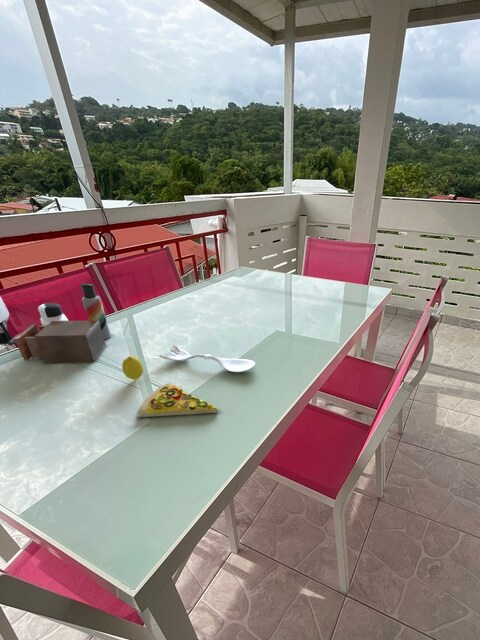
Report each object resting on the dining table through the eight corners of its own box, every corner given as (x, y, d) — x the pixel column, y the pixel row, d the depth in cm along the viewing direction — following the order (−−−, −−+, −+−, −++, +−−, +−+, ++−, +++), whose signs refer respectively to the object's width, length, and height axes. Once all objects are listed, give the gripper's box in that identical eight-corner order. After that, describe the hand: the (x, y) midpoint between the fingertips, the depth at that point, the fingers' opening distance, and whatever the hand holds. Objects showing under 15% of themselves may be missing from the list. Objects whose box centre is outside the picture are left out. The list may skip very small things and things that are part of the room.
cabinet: (45, 363, 107) (34, 336, 102) (62, 346, 117) (52, 321, 112) (94, 362, 110) (85, 335, 104) (106, 345, 120) (98, 320, 114)
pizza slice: (164, 386, 100) (162, 378, 98) (229, 397, 97) (228, 389, 95) (132, 416, 87) (130, 407, 85) (205, 430, 84) (204, 421, 82)
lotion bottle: (91, 338, 124) (73, 284, 113) (103, 333, 129) (86, 280, 117) (103, 341, 123) (86, 286, 111) (114, 335, 127) (99, 282, 116)
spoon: (174, 352, 118) (172, 343, 116) (259, 365, 113) (258, 356, 111) (160, 363, 111) (158, 354, 109) (250, 378, 106) (249, 369, 104)
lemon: (149, 378, 103) (143, 355, 98) (133, 386, 99) (127, 362, 94) (137, 373, 105) (131, 350, 101) (122, 380, 101) (115, 357, 97)
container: (71, 333, 127) (59, 299, 120) (75, 340, 122) (63, 305, 115) (47, 337, 123) (33, 303, 115) (51, 345, 118) (36, 309, 111)
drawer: (9, 361, 106) (-3, 338, 101) (27, 345, 115) (17, 324, 110) (70, 359, 108) (61, 337, 104) (82, 344, 118) (75, 323, 113)
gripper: (-22, 279, 103) (6, 334, 113) (-56, 294, 91) (-21, 354, 101) (5, 279, 104) (30, 333, 114) (-25, 293, 92) (6, 352, 102)
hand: (6, 342), depth 108 cm, fingers closed
